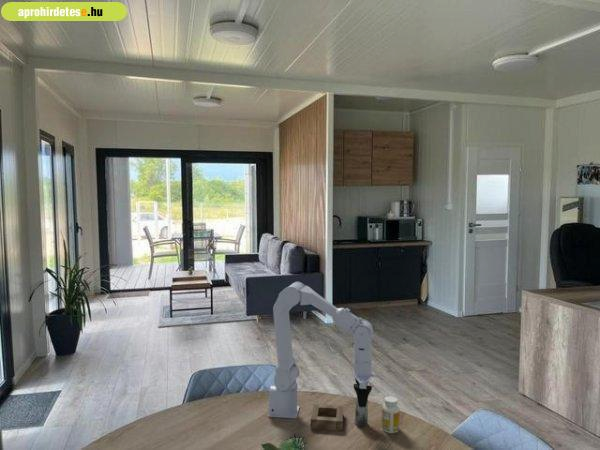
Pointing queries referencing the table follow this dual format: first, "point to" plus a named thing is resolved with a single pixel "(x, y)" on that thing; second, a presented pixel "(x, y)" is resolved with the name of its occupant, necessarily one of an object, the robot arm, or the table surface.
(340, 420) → the socket block
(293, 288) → the robot arm
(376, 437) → the table surface
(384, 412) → the supplement bottle
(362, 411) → the grey cylinder
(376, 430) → the table surface
